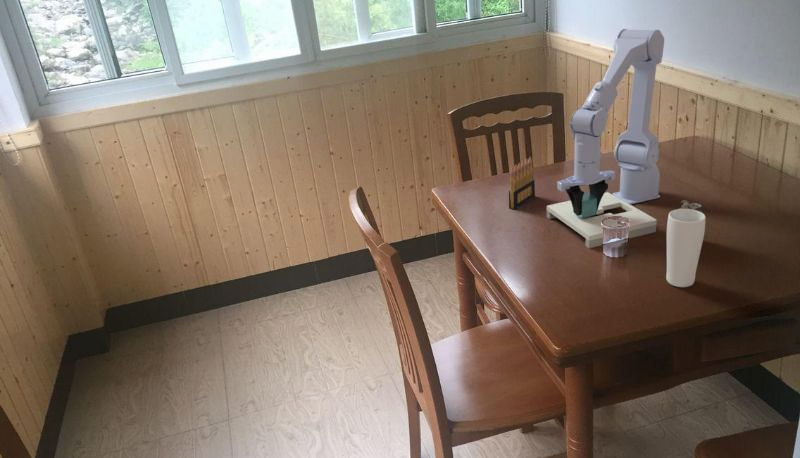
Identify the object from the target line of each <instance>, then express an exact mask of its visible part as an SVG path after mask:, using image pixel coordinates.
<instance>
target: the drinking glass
mask: <svg viewBox="0 0 800 458" xmlns="http://www.w3.org/2000/svg"><path fill="white" fill-rule="evenodd" d="M706 219H707V217H706V215H705V214H704V213H703V212H699V211H696V210H692V209H679V208H677V209H673V210H671V211H670V212H669V213H668V217H667V223H666V272H665V273H666V275H665V278H666V281H667V283H668V284H670V285H671V286H674V287H677V288H688V287H691V286H693V285H694V284H695V281H696V280H695V279H696V273H697V268H698V263H699V259H700V257H701V256H700V255H701V252H702V251H701V250H702V246H703V241H704V236H705V230H706Z"/></svg>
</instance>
